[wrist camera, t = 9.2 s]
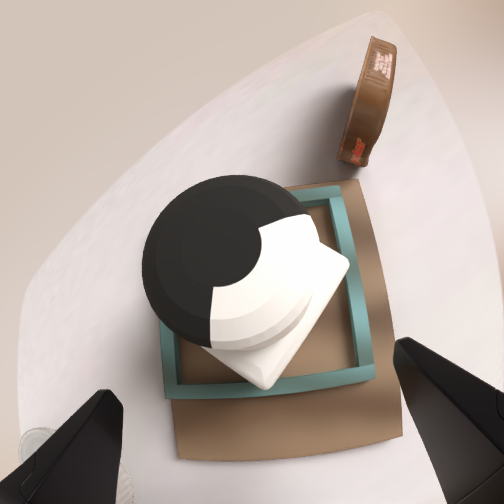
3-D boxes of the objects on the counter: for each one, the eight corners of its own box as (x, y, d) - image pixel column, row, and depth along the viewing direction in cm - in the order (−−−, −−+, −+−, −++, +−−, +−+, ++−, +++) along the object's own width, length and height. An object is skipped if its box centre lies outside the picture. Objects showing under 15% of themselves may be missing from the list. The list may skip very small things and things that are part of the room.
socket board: (397, 432, 16) (407, 439, 14) (184, 454, 18) (173, 462, 16) (355, 186, 23) (360, 171, 21) (170, 213, 25) (160, 202, 23)
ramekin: (39, 427, 20) (3, 431, 15) (113, 413, 20) (73, 422, 15) (81, 519, 16) (51, 534, 11) (166, 521, 16) (139, 549, 11)
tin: (361, 81, 28) (368, 21, 20) (387, 89, 27) (399, 30, 19) (330, 178, 24) (340, 106, 16) (364, 189, 23) (387, 121, 15)
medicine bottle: (192, 320, 20) (84, 277, 9) (249, 239, 22) (204, 126, 11) (276, 379, 18) (250, 418, 7) (333, 291, 20) (381, 211, 8)
